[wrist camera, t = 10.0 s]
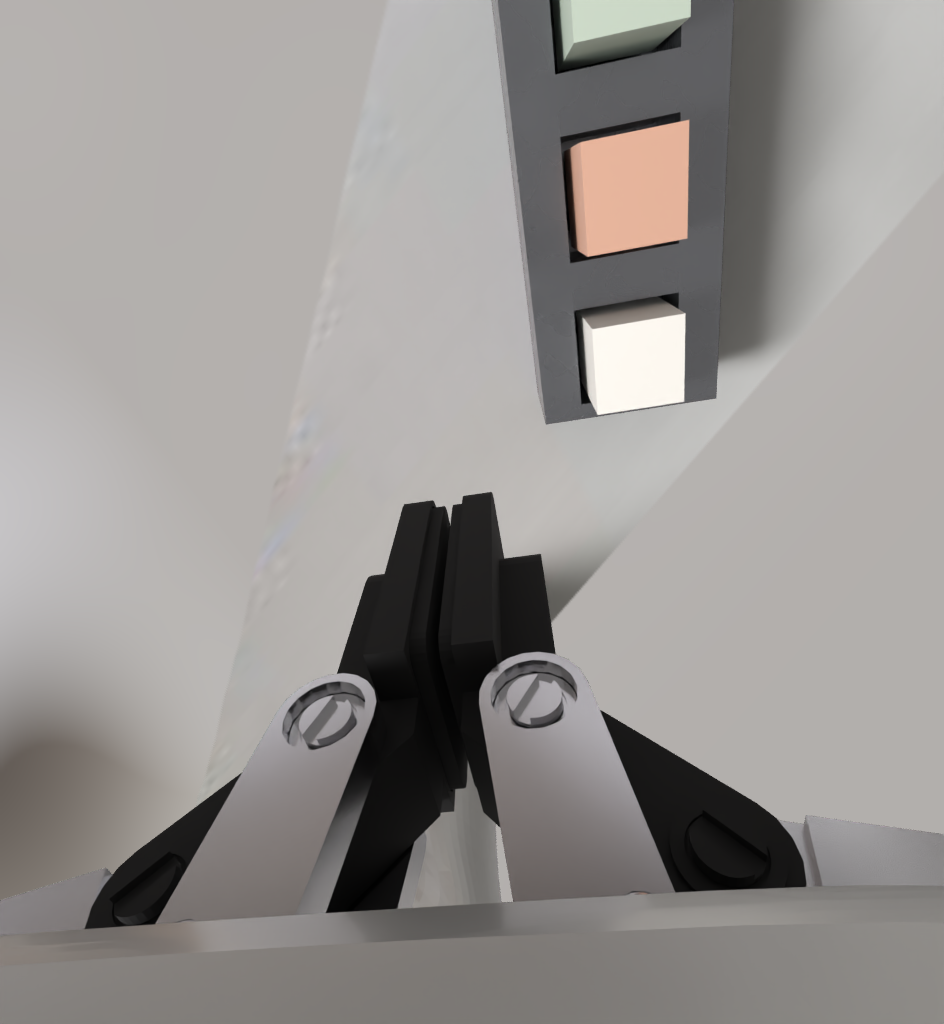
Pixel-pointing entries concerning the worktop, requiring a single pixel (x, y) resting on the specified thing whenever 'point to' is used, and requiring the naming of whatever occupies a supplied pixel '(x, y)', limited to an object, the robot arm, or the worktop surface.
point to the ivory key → (632, 354)
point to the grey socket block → (543, 191)
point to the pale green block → (612, 28)
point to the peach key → (628, 189)
